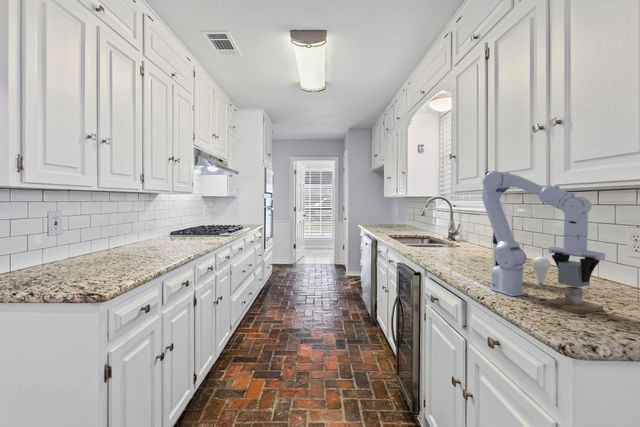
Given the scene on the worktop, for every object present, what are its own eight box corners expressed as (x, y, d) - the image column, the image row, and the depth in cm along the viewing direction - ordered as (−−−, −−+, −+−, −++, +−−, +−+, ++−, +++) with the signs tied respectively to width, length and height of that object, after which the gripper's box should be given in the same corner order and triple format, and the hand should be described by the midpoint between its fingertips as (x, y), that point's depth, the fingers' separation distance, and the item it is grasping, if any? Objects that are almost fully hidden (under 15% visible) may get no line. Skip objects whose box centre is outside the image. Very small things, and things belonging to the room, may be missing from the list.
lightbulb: (532, 281, 130) (533, 254, 129) (550, 283, 126) (551, 256, 125) (530, 284, 125) (531, 256, 125) (549, 287, 121) (550, 258, 121)
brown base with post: (544, 304, 101) (545, 285, 101) (566, 300, 105) (567, 282, 105) (580, 314, 92) (580, 294, 92) (602, 309, 96) (603, 290, 96)
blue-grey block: (558, 282, 100) (558, 262, 99) (569, 280, 102) (569, 260, 101) (578, 287, 94) (578, 265, 94) (589, 285, 96) (590, 263, 96)
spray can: (493, 280, 132) (495, 232, 131) (490, 276, 138) (491, 230, 137) (512, 281, 130) (513, 232, 129) (507, 277, 136) (508, 231, 136)
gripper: (542, 233, 103) (541, 275, 103) (595, 238, 89) (593, 286, 90) (557, 233, 105) (555, 273, 106) (609, 237, 92) (608, 284, 92)
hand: (574, 279), depth 98 cm, fingers closed on blue-grey block, 6 cm apart
